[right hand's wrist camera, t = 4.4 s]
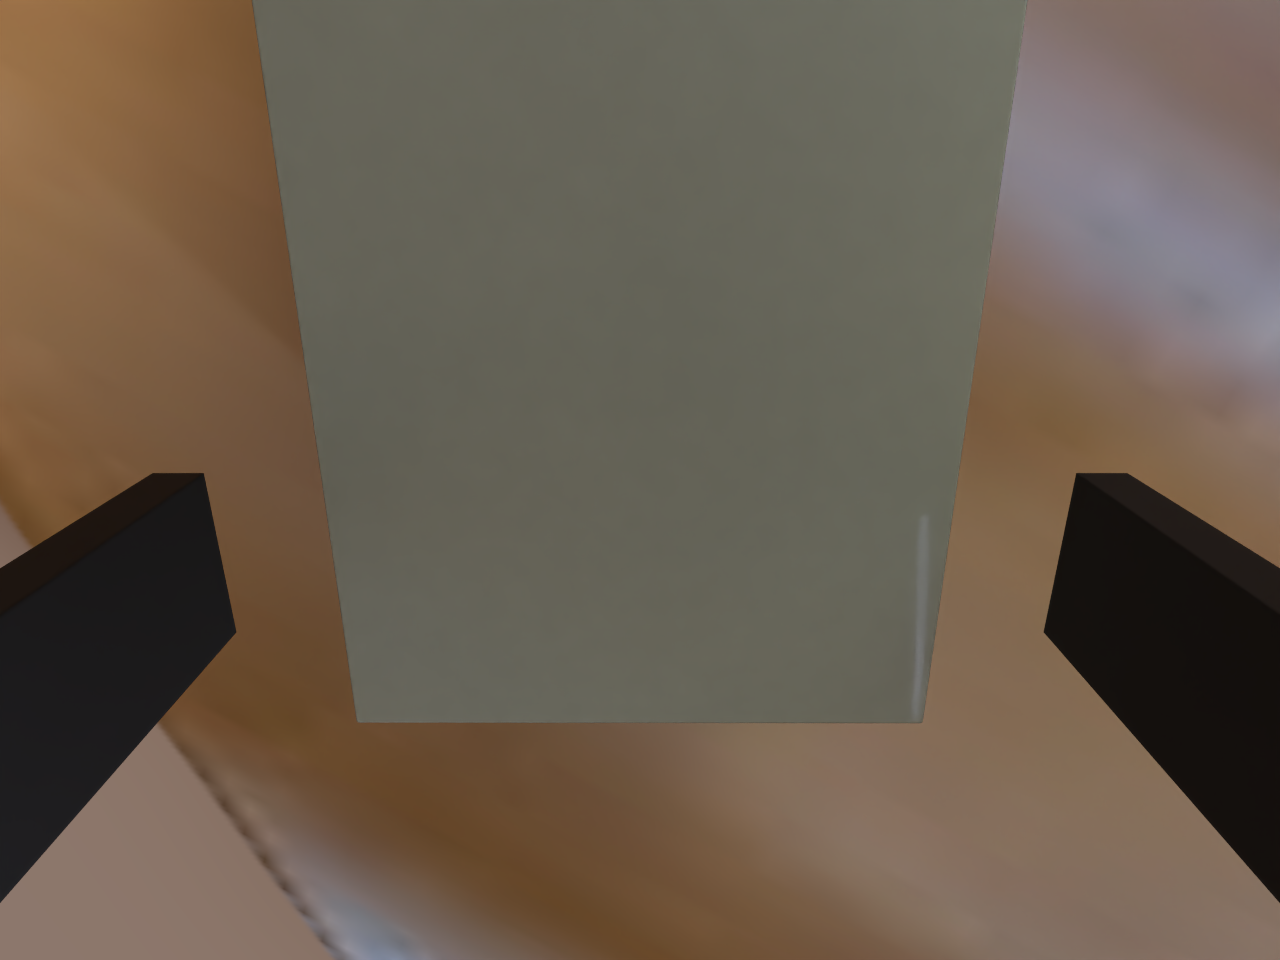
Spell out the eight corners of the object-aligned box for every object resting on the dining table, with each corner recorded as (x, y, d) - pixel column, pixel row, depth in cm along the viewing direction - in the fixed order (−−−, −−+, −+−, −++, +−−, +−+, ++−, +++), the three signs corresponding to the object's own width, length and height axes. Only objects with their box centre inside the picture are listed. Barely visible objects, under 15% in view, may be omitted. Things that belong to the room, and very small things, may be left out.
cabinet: (407, -201, 19) (163, -598, 9) (873, -202, 19) (1116, -600, 9) (465, 515, 25) (356, 723, 16) (815, 515, 25) (923, 724, 16)
